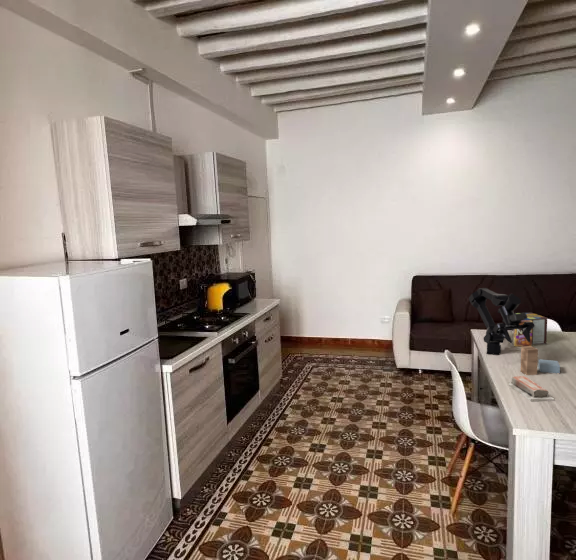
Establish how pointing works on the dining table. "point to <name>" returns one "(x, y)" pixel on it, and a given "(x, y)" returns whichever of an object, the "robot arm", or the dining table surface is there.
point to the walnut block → (529, 360)
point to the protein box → (538, 328)
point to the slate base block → (549, 366)
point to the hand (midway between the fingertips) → (520, 342)
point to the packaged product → (529, 389)
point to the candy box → (521, 337)
